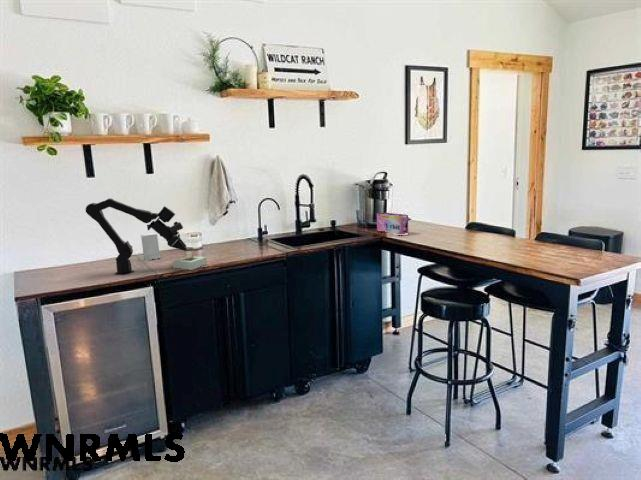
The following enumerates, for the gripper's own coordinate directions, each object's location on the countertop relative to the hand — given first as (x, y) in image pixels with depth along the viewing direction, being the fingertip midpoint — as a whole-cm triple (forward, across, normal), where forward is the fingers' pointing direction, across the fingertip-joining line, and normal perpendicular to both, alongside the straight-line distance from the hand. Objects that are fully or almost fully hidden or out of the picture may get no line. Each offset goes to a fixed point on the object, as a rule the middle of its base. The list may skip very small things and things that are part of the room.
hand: (186, 248), depth 256 cm
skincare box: (-6, +29, +21) cm, 37 cm away
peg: (+8, 0, +6) cm, 10 cm away
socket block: (+8, 0, +6) cm, 10 cm away
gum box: (+102, +41, -89) cm, 142 cm away
